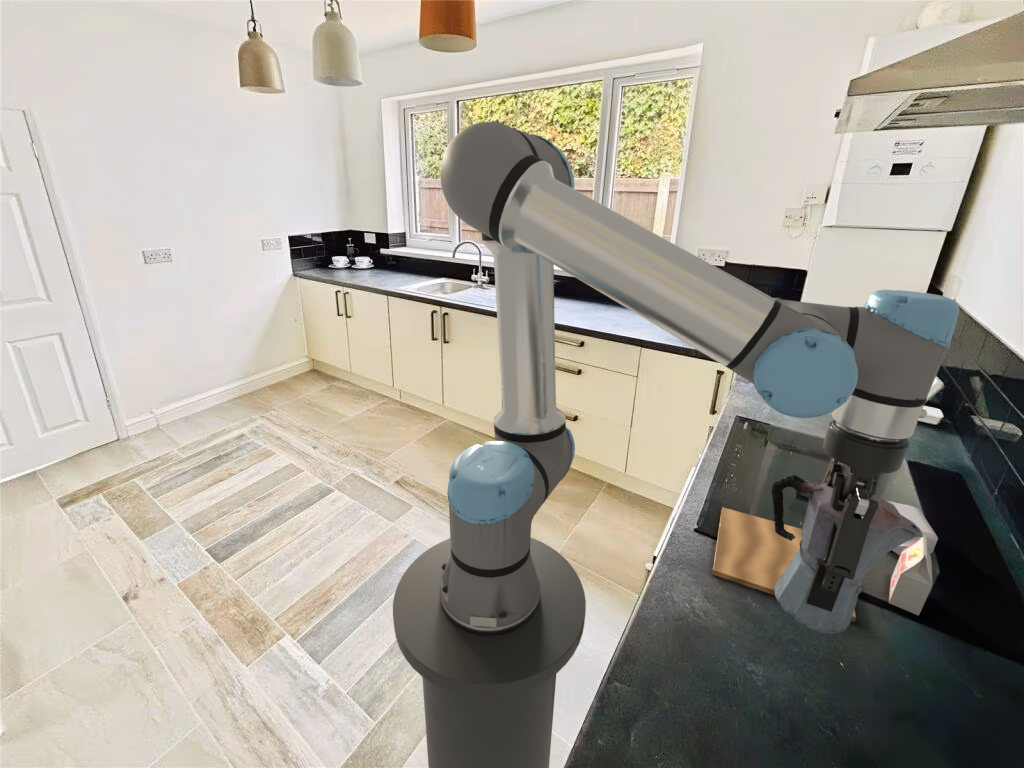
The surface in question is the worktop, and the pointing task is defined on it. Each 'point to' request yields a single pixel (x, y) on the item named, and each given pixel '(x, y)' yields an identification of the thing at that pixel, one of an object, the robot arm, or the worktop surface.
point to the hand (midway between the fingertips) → (815, 582)
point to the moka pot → (819, 519)
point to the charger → (920, 522)
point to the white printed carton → (912, 578)
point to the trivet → (753, 551)
